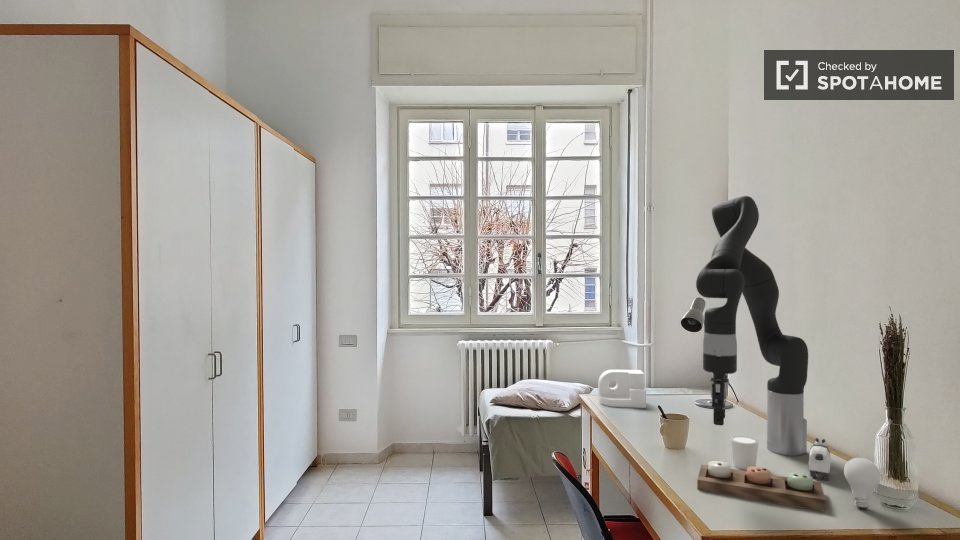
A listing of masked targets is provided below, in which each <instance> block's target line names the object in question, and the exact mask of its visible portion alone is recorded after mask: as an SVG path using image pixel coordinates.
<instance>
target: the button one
mask: <svg viewBox="0 0 960 540" xmlns="http://www.w3.org/2000/svg"><path fill="white" fill-rule="evenodd" d="M707 465H708V473H709V474H710V475H712V476H715V477H722V478H726V477H730V476H731V469H732V464H730V463H728V462H726V461H719V460H711V461H709V462H708V463H707Z"/></svg>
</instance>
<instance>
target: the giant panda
mask: <svg viewBox="0 0 960 540" xmlns="http://www.w3.org/2000/svg"><path fill="white" fill-rule="evenodd" d="M808 456H809V458H808V470H809V475H810V476H811V477H812V478H813V479H816V478H817V473H816V472H819V473H822V480H823V481H829V475H830V470H831V451H830V449H829V446H828V445H827V442H826V439H824V438H823V439H819V438H818V437H816V438H815V439H814V442H813V444H812V445H811V447H810V449H809V455H808Z"/></svg>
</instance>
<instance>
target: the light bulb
mask: <svg viewBox="0 0 960 540" xmlns="http://www.w3.org/2000/svg"><path fill="white" fill-rule="evenodd" d="M843 474H844V477H845V479H846V481H847V482H848V484H849V486H850V488H851V491H852V493H851V494H852V496H853V497H854V498H853V505H854V506H856V507H857V508H859V509H862V510H865V509H868V508H870V506H871V505H870V502H871V498H872V494H873V491H874V490H875V489H876V487H877V486H878V484H880V482H881V471H880V469H879V467H878V466H877V465H876V464H875V463H874V462H872V460H870V459H867V458H865V457H853V458H851V459H848V461H847V462H846V463H845V465H844V468H843Z"/></svg>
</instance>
